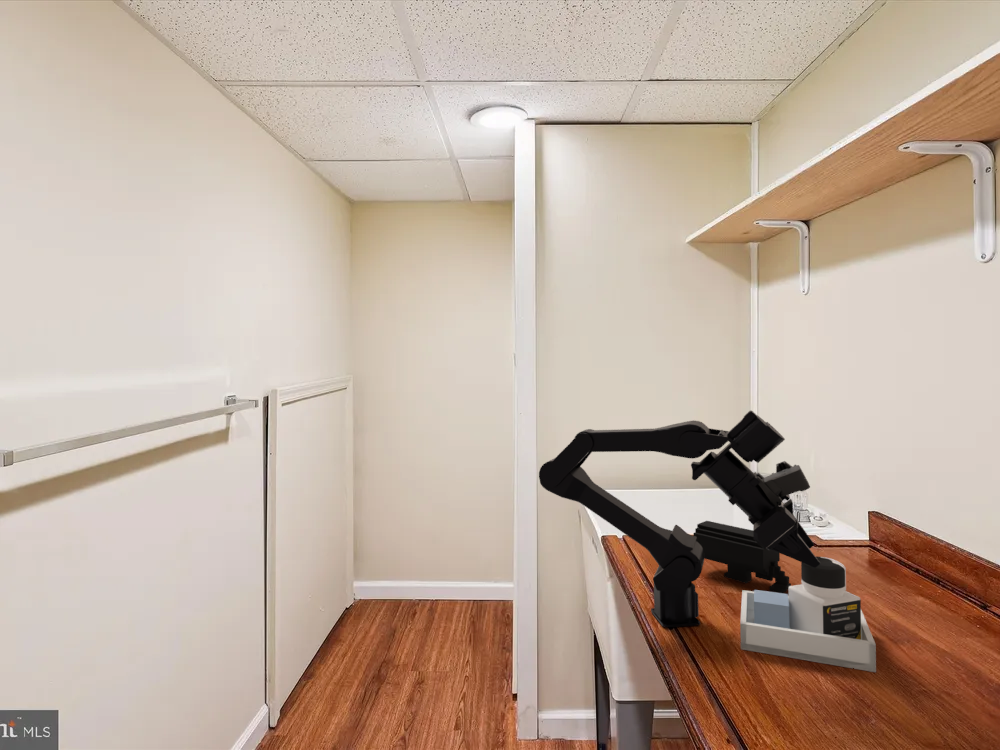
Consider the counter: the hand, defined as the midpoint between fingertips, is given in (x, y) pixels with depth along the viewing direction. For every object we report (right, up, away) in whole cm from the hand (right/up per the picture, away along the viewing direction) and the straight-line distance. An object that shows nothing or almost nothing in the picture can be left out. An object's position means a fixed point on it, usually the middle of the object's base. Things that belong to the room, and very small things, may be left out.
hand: (814, 555), depth 88 cm
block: (-5, -13, +3) cm, 14 cm away
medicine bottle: (+1, -13, 0) cm, 13 cm away
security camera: (-1, -13, +26) cm, 29 cm away
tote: (-1, -14, +1) cm, 14 cm away
